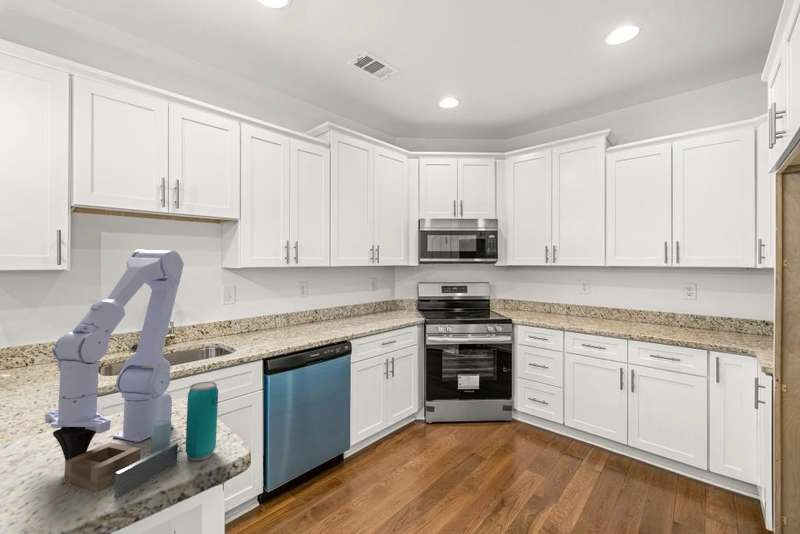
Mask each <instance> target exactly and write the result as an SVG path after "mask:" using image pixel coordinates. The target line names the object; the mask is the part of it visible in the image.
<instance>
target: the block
mask: <svg viewBox="0 0 800 534" xmlns="http://www.w3.org/2000/svg"><path fill="white" fill-rule="evenodd" d="M139 460H141V448H140V447H136V446H131V445H126V444H121V443H115V442H112V441H110V442H107V443H105V444H102V445H99V446H98V447H95V448H93V449H91V450H87V452H86V453H83V454H81V455H79V456H76V457H74V458H71V459H69V460H67V461H64V477H63V484H65V483H66V485H69V484H71V485H70V486H73V487H77V488H82V489H84V490H85V489H86V490H89V491H94V492H99V491H101V490H103V489H104V488H107V487H108V486H110V485H113V484H115V473H116V472H118V471H120V470H122V469H124V468H126V467H128V466H130V465H131V464H133V463H135V462H137V461H139Z"/></svg>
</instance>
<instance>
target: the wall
mask: <svg viewBox="0 0 800 534" xmlns="http://www.w3.org/2000/svg"><path fill="white" fill-rule="evenodd" d="M178 450H179V443H178V442H173V443H170V445H169V446H167V447H165V448H163V449H161V450H159V451H157V452H155V453H153V454H151V453H150V454H149V455H148V456H145V457H144V458H142V459H141V458H140V460H139V461H137V462H135V463H133V464H131V465H130V466H128V467H126V468H124V469H122V470H120V471H118V472H116V473H115V482H114V491H113V496H114V497H118V498H120V497H121V496H123V495H125V494H127V493H128V492H130V491H131V490H134V489H135V488H137V487H138V485H139V486H140V485H142V484H144V483H145V482H147V481H149V480H151V479H152V478H155V477H156V476H158V475H159V474H161V473H163V472H164V471H166V470H168V469H170V468H172V467H173V466H176V464H178V455H179V454H178V452H179V451H178Z"/></svg>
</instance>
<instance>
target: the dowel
mask: <svg viewBox="0 0 800 534" xmlns="http://www.w3.org/2000/svg"><path fill="white" fill-rule="evenodd" d="M171 424H172V420H171V421H170V420H161V421H157V422H155V423H153V424H152V436H151V437H150V438H151V441H150V442H151V445H150V455H151V454H153V453H155V452H157V451H159V450H161V449H163V448H165V447H167V446H169V445H171V436H172V435H171V431H172V427H171Z"/></svg>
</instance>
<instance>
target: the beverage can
mask: <svg viewBox="0 0 800 534" xmlns="http://www.w3.org/2000/svg"><path fill="white" fill-rule="evenodd" d="M218 405H219V389H218V383H217V382H214V381H201V382H196V383H193V384H191V385H190V386H189V391H188V393H187V409H186V427H185V428H186V429H185V453H186V456H187V459H188V460H190V461H193V462H198V461H204V460H207V459H209V458H210V457H211V456H212V455H213V453H214V452H215V449H216V446H217V428H218V427H217V426H218Z"/></svg>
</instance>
